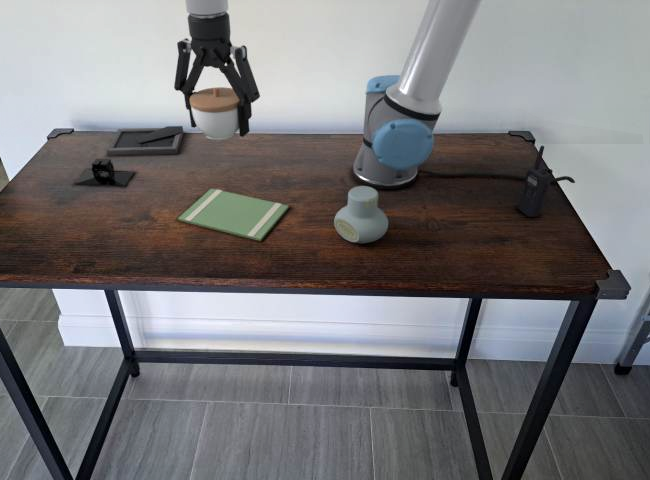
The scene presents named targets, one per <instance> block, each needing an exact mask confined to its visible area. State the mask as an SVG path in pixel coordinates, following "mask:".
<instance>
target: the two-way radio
mask: <svg viewBox="0 0 650 480" xmlns="http://www.w3.org/2000/svg"><path fill="white" fill-rule="evenodd" d="M544 151H545V146H544V145H540V147H539V150H538V153H537V156H536V159H535V162H534V166H531V167H529V168H528V170H527V171H526V174H525V176H526V178H525V180H524V182H523V185H522V189H521V192H520V197H519V201H518V205H517V209H518V210H519V211H520V212H522V213H523V214H524V215H525V216H527V217H529V218H536V217H538V216H539V215H540V214H541V211H542V208H543V206H544V203H545V200H546V198H547V194H548V192H549V190H550V189H549V188H550V186H551V183H550V182H551V179H552V175H553V173H554V171H553V169H551V168H548V167H547V166H542V167H540V166H541V162H542V158H543V154H544Z"/></svg>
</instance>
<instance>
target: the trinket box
mask: <svg viewBox="0 0 650 480" xmlns="http://www.w3.org/2000/svg"><path fill="white" fill-rule="evenodd" d="M195 92H196V93H194V94H193V95H192V96H191V97H190V105H191V110H192V115H193V118H194V121H195V124H196V125H197V126H196V127H197V129H198V130H199V131H200V132H201V133H202V134H204V135H205V137H206V138H207V139H209V140H213V141H225V140H230V139H231V138H233V137H234V136H235V135H236V133H238V131H239V120H238V108H237V104H239V103H240V100H239V99H238V97H237V95H236V93H235V92H234V90H233V88H232V87H225V86H224V87H223V86H222V87H221V86H219V87H217V86H216V87H209V88H203V89H201V90H197V91H195Z"/></svg>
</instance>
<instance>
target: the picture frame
mask: <svg viewBox="0 0 650 480" xmlns="http://www.w3.org/2000/svg"><path fill="white" fill-rule="evenodd" d="M183 136H184V127H183V125H167V126H165V127H144V128H143V127H142V128H139V127H138V128H117V130H116V132H115V134H114V136H113V137H112V139H111V141H110V143H109V145H108V147H107V149H106V153H107V157H119V156H121V157H122V156H124V157H125V156H157V155H158V156H161V155H162V156H166V155H167V156H168V155H177V154H178V152H179V149H180V146H181V143H182V140H183Z"/></svg>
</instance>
